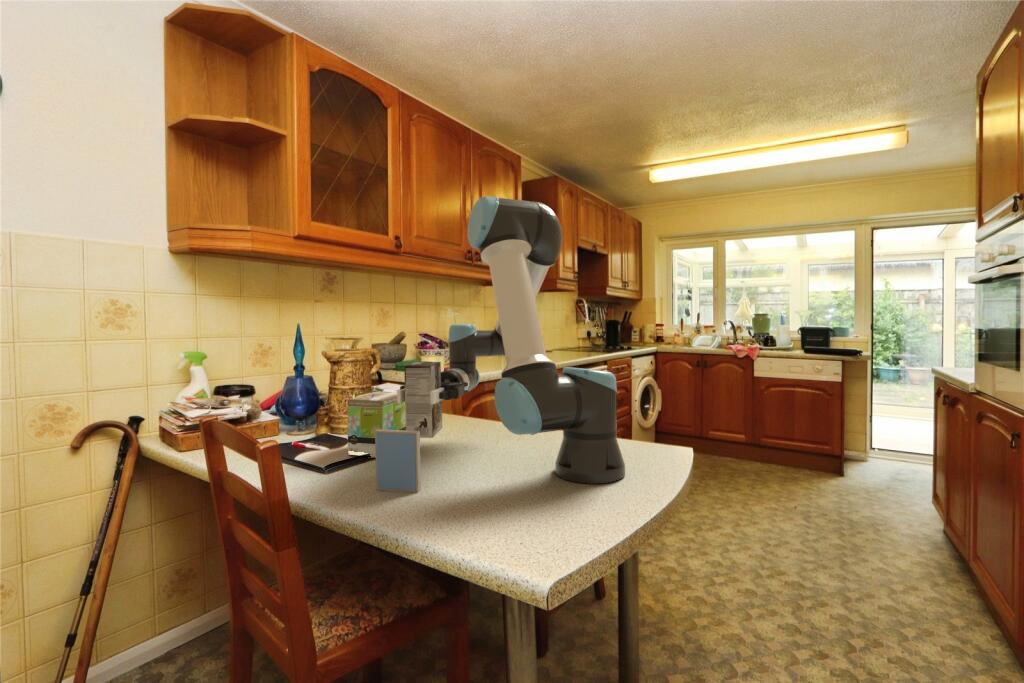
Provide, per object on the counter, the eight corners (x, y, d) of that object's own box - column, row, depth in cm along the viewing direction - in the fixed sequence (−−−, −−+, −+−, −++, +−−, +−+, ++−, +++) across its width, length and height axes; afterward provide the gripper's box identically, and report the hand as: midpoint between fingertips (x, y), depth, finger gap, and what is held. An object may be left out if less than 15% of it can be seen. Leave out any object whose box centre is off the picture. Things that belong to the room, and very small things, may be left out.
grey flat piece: (420, 490, 97) (419, 430, 97) (417, 492, 96) (416, 432, 95) (379, 487, 99) (378, 429, 99) (375, 490, 98) (374, 431, 97)
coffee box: (416, 428, 116) (415, 361, 115) (443, 428, 115) (441, 361, 115) (404, 437, 107) (402, 364, 106) (433, 438, 106) (431, 364, 106)
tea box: (383, 458, 121) (382, 399, 120) (346, 456, 123) (345, 398, 122) (408, 443, 135) (407, 390, 135) (375, 442, 137) (373, 390, 137)
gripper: (487, 399, 126) (459, 416, 104) (415, 397, 131) (373, 413, 108) (487, 370, 126) (458, 381, 104) (415, 369, 130) (372, 379, 108)
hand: (415, 397), depth 106 cm, fingers closed on coffee box, 7 cm apart
